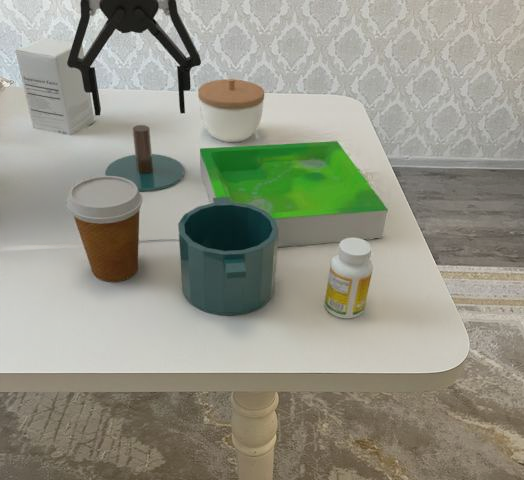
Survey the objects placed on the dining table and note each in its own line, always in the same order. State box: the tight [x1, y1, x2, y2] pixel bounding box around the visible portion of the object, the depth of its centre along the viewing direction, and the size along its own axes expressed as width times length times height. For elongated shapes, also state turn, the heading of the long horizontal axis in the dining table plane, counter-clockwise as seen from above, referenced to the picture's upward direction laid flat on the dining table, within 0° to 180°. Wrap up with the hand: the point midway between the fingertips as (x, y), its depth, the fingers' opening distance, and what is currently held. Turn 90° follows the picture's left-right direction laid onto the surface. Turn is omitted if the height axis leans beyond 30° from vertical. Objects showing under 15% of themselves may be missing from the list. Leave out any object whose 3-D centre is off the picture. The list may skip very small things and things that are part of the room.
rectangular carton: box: [15, 37, 95, 136], centre depth 114 cm, size 9×9×15 cm
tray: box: [199, 140, 389, 248], centre depth 97 cm, size 25×25×5 cm
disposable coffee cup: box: [66, 175, 143, 283], centre depth 79 cm, size 10×10×12 cm
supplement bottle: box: [324, 238, 374, 319], centre depth 76 cm, size 5×5×10 cm
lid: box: [105, 124, 185, 192], centre depth 102 cm, size 14×14×9 cm
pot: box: [177, 197, 279, 317], centre depth 78 cm, size 13×18×10 cm
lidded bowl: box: [197, 78, 265, 143], centre depth 115 cm, size 13×13×11 cm
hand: (140, 111), depth 97 cm, fingers open, 13 cm apart
